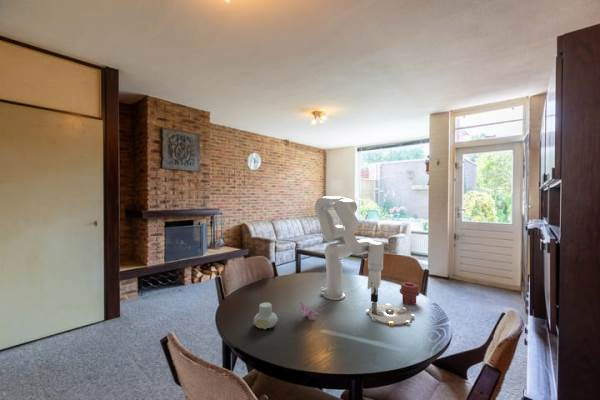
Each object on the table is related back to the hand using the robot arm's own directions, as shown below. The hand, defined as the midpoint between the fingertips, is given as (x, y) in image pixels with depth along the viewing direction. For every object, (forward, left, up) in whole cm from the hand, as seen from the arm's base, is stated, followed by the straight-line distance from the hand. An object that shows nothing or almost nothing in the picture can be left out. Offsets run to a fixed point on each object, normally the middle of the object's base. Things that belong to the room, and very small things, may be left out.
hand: (374, 301), depth 142 cm
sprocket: (+8, -3, -4) cm, 10 cm away
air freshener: (-42, -37, -6) cm, 56 cm away
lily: (-27, -23, -6) cm, 37 cm away
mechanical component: (+15, +18, -6) cm, 24 cm away
